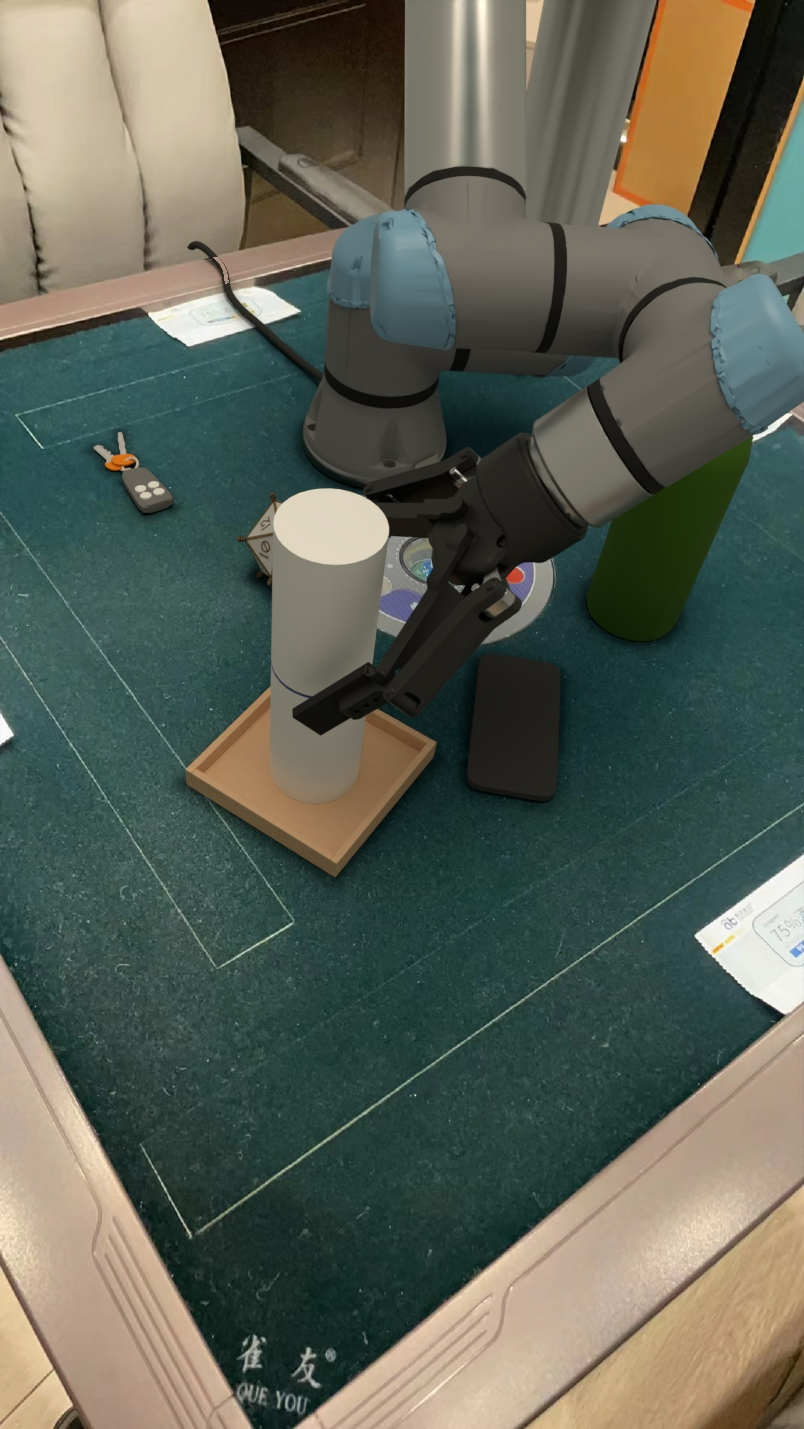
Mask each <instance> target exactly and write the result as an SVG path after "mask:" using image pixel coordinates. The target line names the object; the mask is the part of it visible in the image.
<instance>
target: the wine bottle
mask: <svg viewBox="0 0 804 1429" xmlns="http://www.w3.org/2000/svg"><path fill="white" fill-rule="evenodd" d="M742 280H743V279H740V280H738V281H737V282H736V283H735V284H737V283H739V282H740V281H742ZM753 440H754V435H753V436H751V437H750V438H748V439H746V440H745V441H743V442H741V443H740V444H738V445H736V446H735V447H733V448H731V449H730V450H728V451H726V452H725V453H723V454H721V455H720V456H718V457H716V458H715V459H713V460H711V461H710V462H708V463H706V464H705V465H703V466H701V467H700V468H698V469H696V470H695V471H693V472H691V473H690V474H688V475H686V476H685V477H683V478H681V479H680V480H678V481H676V482H675V483H673V484H671V485H670V486H668V487H665V488H664V489H663V490H661V491H659V492H658V493H656V494H653V496H651V497H649V498H648V499H646V500H644V501H643V502H641V503H640V504H638V505H636V506H635V507H633V508H631V509H630V510H628V511H627V512H625V513H623V514H622V515H620V516H618V517H617V518H615V519H614V520H612V521H610V525H609V527H608V530H607V533H606V535H605V536H606V537H605V540H604V543H603V546H602V548H601V551H600V554H599V557H598V560H597V563H596V566H595V569H594V571H593V575H592V577H591V580H590V583H589V587H588V589H587V592H586V607H587V610H588V612H589V615H590V616H591V617H592V619H593V620H594V621H595V623H596V624H597V625H599V626H600V627H601V628H602V629H603V630H605V631H606V632H607V633H608V632H609V633H610V634H612V635H613V636H615V637H618V638H621V639H625V640H627V641H633V642H650V641H654V640H658V639H661V638H662V637H664V636H666V635H667V634H669V633H670V632H672V630H673V629H674V627H675V626H676V625H677V623H678V621H679V619H680V616H681V615H682V612H683V610H684V608H685V605H686V603H687V601H688V599H689V597H690V594H691V592H692V590H693V587H694V585H695V583H696V581H697V578H698V576H699V574H700V571H701V569H702V568H703V565H704V563H705V561H706V558H707V556H708V554H709V551H710V549H711V547H712V544H713V542H714V540H715V538H716V536H717V533H718V531H719V529H720V527H721V524H722V522H723V520H724V518H725V515H726V513H727V511H728V509H729V506H730V505H731V502H732V500H733V498H734V496H735V493H736V491H737V489H738V487H739V484H740V482H741V480H742V478H743V476H744V473H745V470H746V468H747V466H748V465H749V462H750V457H751V452H752V446H753Z"/></svg>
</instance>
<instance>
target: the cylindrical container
mask: <svg viewBox="0 0 804 1429" xmlns="http://www.w3.org/2000/svg"><path fill="white" fill-rule="evenodd" d="M366 498H367V497H365V496H364V495H361V494H358V493H355V492H352V491H349V490H344V489H339V488H314V489H308V490H304V491H302V492H301V491H300V492H298V493H296V494H294V495H292V496H290V497H289V498H287V499H286V500H285V501H283V503H282V505H281V506H280V507H279V508H278V510H277V512H276V514H275V516H274V522H273V572H272V584H271V636H270V638H271V641H270V642H271V644H270V686H271V695H270V756H269V768H270V775H271V777H272V780H273V782H274V783H275V785H276V787H277V788H278V789H279V790H280V791H281V792H282V793H284V794H285V795H287V796H288V797H290V798H292V799H294V800H297V801H300V802H304V803H311V804H320V803H327V802H331V801H334V800H336V799H338V798H340V797H342V796H343V795H345V794H346V793H348V791H349V790H350V789H351V788H352V787H353V786H354V784H355V782H356V780H357V777H358V774H359V766H360V758H361V750H362V742H363V734H364V726H365V718H366V716H364V717H363V718H361V719H358V720H353V719H351V718H350V719H348V720H347V721H345V722H343V723H342V724H340V725H338V726H336V727H335V728H333V729H331V730H330V731H328V732H326V733H325V734H323V735H321V736H320V735H319V734H317V733H316V732H314V731H313V730H311V729H309V728H308V727H306V726H305V725H303V724H302V723H300V722H299V721H297V720H296V719H294V718H293V714H292V709H293V708H294V707H296V706H297V705H299V704H301V703H302V702H304V701H306V700H307V699H309V698H310V697H312V696H314V695H315V694H317V693H319V692H320V691H322V690H323V689H325V688H327V687H328V686H330V685H332V684H333V683H335V682H336V681H338V680H340V679H341V678H343V677H345V676H346V675H348V674H349V673H351V672H353V671H354V670H356V669H358V668H359V667H361V666H362V665H364V664H366V663H367V662H369V663H371V664H372V665H373V662H374V654H375V648H376V639H377V632H378V631H377V630H378V622H379V615H380V606H381V598H382V591H383V583H384V575H385V567H386V559H387V552H388V545H389V541H388V540H389V537H388V536H389V525H388V521H387V519H386V517H385V515H384V513H383V512H382V511H381V510H380V508H379V507H378V506H377V505H375V504H374V503H373V502H371V501H370V500H368V499H366Z"/></svg>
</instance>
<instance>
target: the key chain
mask: <svg viewBox="0 0 804 1429" xmlns="http://www.w3.org/2000/svg"><path fill="white" fill-rule="evenodd" d="M117 443H118V450H119V454H116V455H114V454H112V452H111V451H110V450H108V449H106V448H105V446H103V445H100V444H96V445H95V446H93V447H92V449H93V450H94V451H95V452H97V453H98V454H99V455H100V456H101V457H102V458H103V459H105V460H106V462H105V463H104V467H105V468H106V469H107V470H109V471H115V472H117V471H121V472H122V473H121V481H122V484H123V486H124V488H125V490H126V491H127V492H128V494H129V496H130V498H131V499H132V501H133V502H134V503H135V505H136V507H137V508H138V510H139V511H141V512H142V513H145V514H153V513H156V512H161V511H163V510H165V509H168V508H170V507H171V506H172V505H173V504H174V498H173V495H172V493H171V492H170V491H169V490H168V489H167V487H166V486H165V485H164V484H163V483H162V482H161V481H160V480H159V479H158V478H157V477H156V475H154V474H153V472H152V471H150V470H149V469H147V468H146V467H142V466H140V462H139V459H138V458H137V457H136V456H135V455H134V454H131V453H127V450H126V442H125V440H124V435H123V432H122V431H118V432H117ZM134 464H135V466H134V467H133V468H131V467H127V466H131V465H134Z"/></svg>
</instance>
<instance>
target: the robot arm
mask: <svg viewBox="0 0 804 1429" xmlns="http://www.w3.org/2000/svg"><path fill="white" fill-rule="evenodd" d="M657 1H658V0H543V2H542V7H541V13H540V18H539V23H538V28H537V32H536V39H535V43H534V44H535V45H534V48H533V49H534V50H533V56H532V61H531V66H530V70H529V77H528V82H527V0H404V5H405V6H404V15H405V16H404V136H403V138H404V139H403V140H404V148H403V149H404V150H403V151H404V153H403V154H404V157H403V158H404V159H403V160H404V161H403V162H404V165H403V166H404V167H403V168H404V169H403V173H404V174H403V184H404V185H403V201H404V202H403V208H402V209H400V210H388V211H384V212H380V213H377V214H373V215H370V216H367V217H364V218H361V219H359V220H358V221H357V222H356V223H353V224H352V225H350V226H348V227H347V228H346V229H345V230H343V231H342V232H341V234H340V235H339V236H338V238H337V240H336V241H335V243H334V245H333V249H332V252H331V260H330V269H329V276H328V278H327V281H326V294H327V297H328V306H327V320H326V333H325V349H324V366H323V372H322V371H321V370H319V369H318V368H316V367H315V366H314V365H312V364H311V363H310V362H308V361H307V360H306V359H305V358H304V357H302V356H301V355H300V354H299V353H297V352H296V351H295V350H294V349H293V348H291V346H289V345H288V344H287V343H286V342H284V341H283V340H282V339H281V338H280V337H279V336H278V335H276V333H275V332H273V331H272V330H271V329H270V328H269V327H268V326H267V325H266V324H265V323H264V322H262V321H261V319H259V318H258V317H257V316H256V315H254V314H253V313H252V312H251V311H249V310H248V309H247V307H245V306H244V305H243V303H241V302H240V300H239V299H238V298H237V296H236V295H235V293H234V292H233V289H232V285H231V279H230V274H229V270H228V268H227V266H226V265H225V262H223V261H222V263H223V264H224V266H225V268H226V270H227V274H228V280H229V283H227V284H225V281H224V274H223V270H222V268H221V266H220V264H219V263H218V262H217V261H216V260H215V259H214V258H213V257H219V256H218V255H217V253H216V252H214V251H213V250H212V249H211V247H209V246H207V244H206V243H203V242H202V241H199V240H193V241H191V242H190V243H189V244H188V245H187V247H186V248H187V250H189V251H194V250H200V251H201V252H203V253H204V254H205V255H206V256H207V257H208V259H210V260H211V259H212V260H211V261H212V263H213V264H214V265H215V267H216V268H217V269H218V270H219V272H220V274H221V279H222V286H223V290H224V294H225V296H226V298H227V299H228V301H229V302H230V303H231V305H232V306H233V307H234V308H235V310H236V311H237V312H238V313H239V314H240V315H241V316H243V317H244V318H245V319H246V320H247V321H248V322H249V323H250V324H252V325H253V326H254V327H255V328H256V329H258V331H260V332H261V334H263V335H264V336H265V337H266V338H267V339H269V341H270V342H272V343H273V344H274V345H275V346H276V347H277V348H278V349H279V350H281V351H282V352H283V354H285V355H286V356H287V357H288V358H290V359H291V360H292V361H293V362H295V363H296V364H297V365H298V366H299V367H301V368H302V369H303V370H305V372H307V373H309V374H310V375H311V376H313V377H314V378H315V379H316V380H318V381H319V385H318V387H317V390H316V392H315V394H314V396H313V398H312V401H311V403H310V405H309V407H308V410H307V412H306V415H305V419H304V422H303V427H302V428H303V429H302V446H303V450H304V452H305V455H306V456H307V458H308V459H309V461H310V462H311V463H312V464H313V465H314V466H315V467H316V468H317V469H318V470H319V471H320V472H322V473H323V474H324V475H326V476H328V477H329V478H332V479H334V480H335V481H338V482H340V483H342V484H345V485H349V486H352V487H355V488H360V489H362V496H363V497H365V498H366V499H368V500H370V501H371V502H373V503H374V504H375V505H377V506H378V507H379V508H380V510H381V511H382V512H383V513H384V515H385V517H386V519H387V521H388V525H389V536H388V542H389V541H390V539H391V537H397V538H398V537H399V538H416V539H417V538H419V539H420V538H421V539H428V543H429V545H430V547H431V548H432V550H431V567H432V569H431V570H430V572H429V574H428V575H427V577H426V580H425V583H426V590H425V592H424V593H423V595H422V596H421V597H420V600H419V601H418V603H417V604H416V606H415V607H414V609H413V610H412V612H411V613H410V614H409V617H408V618H407V620H406V621H405V623H404V624H403V626H402V627H401V629H400V630H399V632H398V634H396V637H395V638H394V640H393V642H392V643H391V645H390V646H389V648H388V649H387V651H386V653H385V654H384V656H383V657H382V659H381V660H380V662H379V663H378V665H377V666H374V664H373V663H372V664H371V663H369V662H367V663H366V664H364V665H362V666H361V667H359V668H358V669H356V670H354V671H353V672H351V673H349V674H348V675H346V676H345V677H343V678H341V679H340V680H338V681H336V682H335V683H333V684H332V685H330V686H328V687H327V688H325V689H323V690H322V691H320V692H319V693H317V694H315V695H314V696H312V697H310V698H309V699H307V700H306V701H304V702H302V703H301V704H299V705H297V706H296V707H294V708H293V709H292V714H293V718H294V719H296V720H297V721H299V722H300V723H302V724H303V725H305V726H306V727H308V728H309V729H311V730H313V731H314V732H316V733H317V734H319V735H320V736H321V735H323V734H325V733H326V732H328V731H330V730H331V729H333V728H335V727H336V726H338V725H340V724H342V723H343V722H345V721H347V720H348V719H350V718H351V719H353V720H358V719H361V718H363V717H364V716H366V715H368V714H369V713H371V712H373V711H375V710H376V709H380V708H382V707H383V706H385V705H387V704H388V703H389V704H391V705H392V706H393V707H395V709H397V710H398V711H400V712H401V713H403V714H404V715H406V716H407V717H409V718H410V719H411V718H412V719H414V718H416V717H418V716H419V715H420V714H421V713H422V712H423V711H424V710H425V708H426V707H427V706H428V705H429V704H430V703H431V702H432V700H433V699H434V698H436V696H437V695H438V694H439V693H440V691H441V690H442V689H443V688H444V687H445V686H446V685H447V684H448V682H450V680H451V679H452V677H453V676H455V674H456V673H457V672H458V671H459V670H460V669H461V668H462V667H463V665H465V663H466V662H467V661H468V660H469V658H470V657H471V656H472V655H473V654H475V652H476V651H477V650H478V648H479V647H480V646H481V645H482V644H483V643H484V642H485V640H487V638H488V637H489V636H490V635H491V633H493V632H494V630H495V629H497V628H498V627H500V626H501V625H503V624H504V623H505V622H507V621H508V620H510V619H511V618H513V617H514V616H515V615H517V614H518V613H519V612H520V611H521V610H522V606H523V601H522V599H521V598H519V596H517V595H516V593H515V592H513V590H512V589H511V588H510V585H509V582H508V580H507V578H508V576H509V575H510V574H511V573H512V572H513V571H514V570H515V569H516V568H518V566H520V565H522V564H526V563H528V564H529V563H532V564H533V563H534V564H544V563H545V562H548V561H550V560H551V559H553V558H555V556H558V555H559V554H560V553H563V552H564V551H566V550H567V549H569V548H571V547H572V546H574V545H575V544H577V543H579V542H580V541H583V540H584V539H585V538H586V535H587V532H588V530H589V526H590V527H592V528H595V529H599V528H600V529H601V528H602V527H604V526H605V525H607V524H609V523H611V522H612V520H614V519H615V518H617V517H618V516H620V515H622V514H623V513H625V512H627V511H628V510H630V509H631V508H633V507H635V506H636V505H638V504H640V503H641V502H643V501H644V500H646V499H648V498H649V497H651V496H653V494H656V493H658V492H659V491H661V490H663V489H664V488H665V487H668V486H670V485H671V484H673V483H675V482H676V481H678V480H680V479H681V478H683V477H685V476H686V475H688V474H690V473H691V472H693V471H695V470H696V469H698V468H700V467H701V466H703V465H705V464H706V463H708V462H710V461H711V460H713V459H715V458H716V457H718V456H720V455H721V454H723V453H725V452H726V451H728V450H730V449H731V448H733V447H735V446H736V445H738V444H740V443H741V442H743V441H745V440H746V439H748V438H750V437H751V436H753V437H754V436H757V435H760V434H762V433H765V432H766V431H767V430H768V429H769V427H770V426H771V425H773V424H774V423H776V422H777V421H778V420H780V419H781V418H783V417H784V416H785V415H787V414H788V413H790V412H791V411H792V410H794V409H795V408H797V407H798V406H799V405H801V404H803V403H804V332H803V330H802V328H801V327H800V325H799V323H798V321H797V319H796V317H795V315H794V314H793V312H792V311H791V309H790V307H789V305H788V304H787V302H786V300H785V298H784V297H783V295H782V293H781V292H780V290H779V289H778V287H777V285H776V284H775V283H774V281H773V279H772V278H771V277H770V276H769V275H766V274H763V273H755V274H751V275H750V276H748V277H746V278H744V279H741V280H742V281H740V280H739V281H740V282H739V283H737V282H736V283H737V284H736V283H735V284H733V285H731V284H730V282H729V280H728V279H727V277H726V274H725V272H724V270H723V268H722V267H721V266H722V265H721V264H720V260H719V256H718V254H717V251H716V250H715V248H714V246H713V244H712V242H710V240H709V239H708V238H707V237H706V236H704V235H703V234H702V232H701V231H700V229H699V228H698V227H697V226H696V224H695V223H694V222H693V220H692V219H691V218H690V217H688V215H686V214H685V213H684V212H682V211H680V210H679V209H678V208H675V207H672V206H669V205H665V204H653V203H652V204H651V203H650V204H644V205H641V206H639V207H636V208H633V209H631V210H628V211H626V212H625V213H621V214H618V216H616V217H615V218H614V219H613V220H611V221H610V222H609V223H608V224H607V225H606V226H600V221H601V216H602V212H603V209H604V204H605V201H606V197H607V193H608V189H609V185H610V182H611V178H612V174H613V170H614V166H615V163H616V159H617V154H618V151H619V147H620V144H621V139H622V135H623V131H624V128H625V125H626V124H625V123H626V120H627V116H628V113H629V108H630V105H631V101H632V97H633V92H634V89H635V86H636V81H637V78H638V74H639V70H640V66H641V63H642V60H643V59H642V58H643V54H644V51H645V47H646V43H647V39H648V36H649V32H650V28H651V23H652V19H653V17H654V12H655V9H656V5H657ZM219 259H220V260H221V258H220V257H219ZM597 358H609V359H617V360H618V363H619V364H617V365H615V367H614V368H612V369H611V370H609V371H608V372H607V373H605V374H604V375H603V376H600V377H599V378H598V379H595V381H593V382H592V383H590V384H589V385H587V386H585V387H584V388H582V389H581V390H579V391H578V392H576V393H574V394H573V395H571V396H570V397H569V398H567V399H565V400H564V401H563V402H561V403H560V404H558V405H556V406H555V407H554V408H552V409H551V410H549V411H548V412H546V413H544V414H543V415H541V416H540V417H539V418H537V419H536V420H534V422H533V425H532V429H531V430H532V431H531V433H529V432H518V433H517V434H516V435H513V437H511V438H510V439H508V440H507V441H505V442H504V443H502V444H501V445H499V446H498V447H497V448H495V449H493V450H492V451H490V452H489V453H488V454H486V455H485V456H483V457H482V458H481V457H480V456H479V455H478V454H477V453H476V452H475V450H474V449H473V448H472V447H469V446H468V447H464V448H462V449H460V451H457V452H456V453H454V454H453V455H451V456H449V457H447V458H446V459H445V456H446V455H445V454H446V449H447V431H446V425H445V422H444V416H443V410H442V404H441V400H440V395H439V390H438V388H439V383H440V382H439V381H440V375H441V372H442V371H443V372H460V373H462V372H463V373H478V374H479V373H481V374H497V375H498V374H499V375H516V376H517V375H518V376H531V377H533V378H535V379H546V378H550V377H573V376H577V375H579V374H581V373H582V372H584V371H586V370H588V368H589V367H590V366H592V365H593V363H594V362H595V361H596V359H597ZM453 585H454V586H453ZM455 586H463V588H462V589H461V591H459V590H458V589H456V588H455ZM397 670H399V671H398V672H397V673H396V671H397Z"/></svg>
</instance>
